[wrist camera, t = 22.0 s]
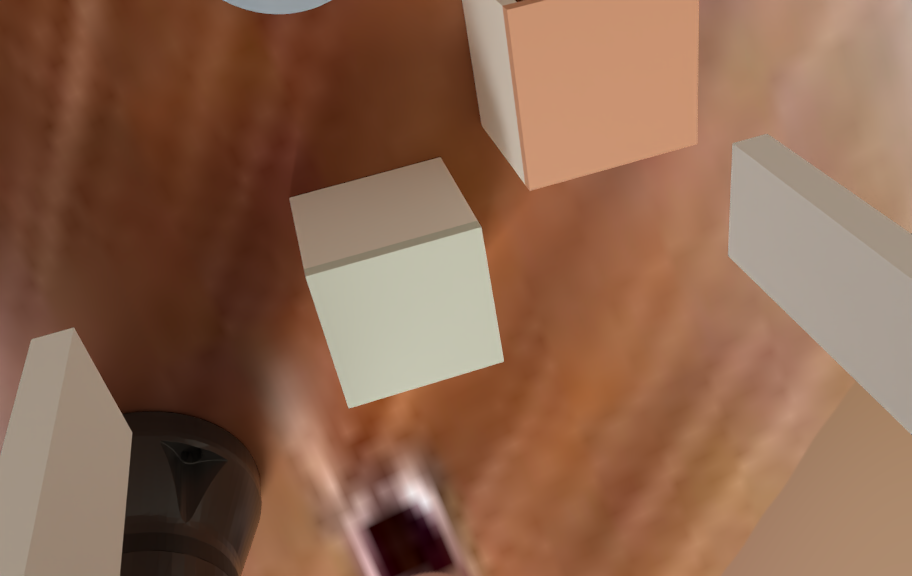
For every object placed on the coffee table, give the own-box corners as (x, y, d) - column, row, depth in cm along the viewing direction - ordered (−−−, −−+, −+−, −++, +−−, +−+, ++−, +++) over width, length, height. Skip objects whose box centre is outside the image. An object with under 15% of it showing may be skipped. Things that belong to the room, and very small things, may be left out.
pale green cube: (328, 320, 54) (348, 408, 47) (289, 197, 48) (305, 276, 41) (464, 281, 55) (504, 361, 48) (440, 157, 49) (481, 226, 42)
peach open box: (481, 125, 49) (529, 190, 42) (456, -35, 43) (506, 10, 36) (626, 86, 50) (697, 144, 43) (619, -75, 45) (699, -39, 38)
